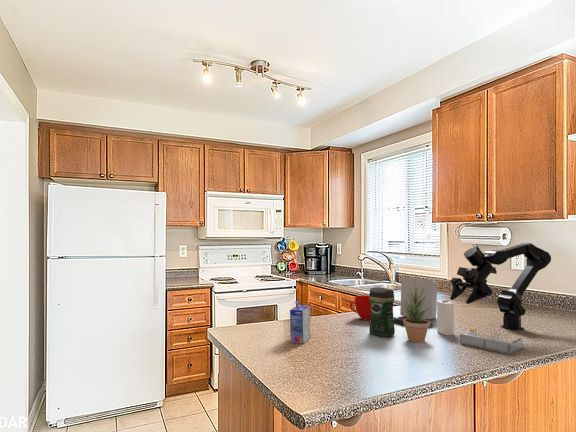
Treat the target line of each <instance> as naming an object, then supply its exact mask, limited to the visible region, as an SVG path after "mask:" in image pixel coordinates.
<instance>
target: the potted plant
mask: <svg viewBox="0 0 576 432" xmlns="http://www.w3.org/2000/svg"><path fill="white" fill-rule="evenodd" d="M414 277H415V281H414V286H415V297H414V294H413V292H412V289H411V286H410V292H411V297H410V295H409V293H408V297H409V300H410V303H411V305H409V304H408V303H407V302H406V301H405V303H406V304H407V306H408V307H409V309H410V310H409V309H408V308H407V307H406V305H405V304H404V305H405V308H406V310H407V311H406V310H405V312H406V313H407V314H408V315H409V318H408V317H407V316H406V317H407V318H408V319H404V320H403V323H404V325H405V326H404V327H405V332H406V335H407V339H408V341H410V342H412V343H424V342H425V341H426V337H427V335H428V334H427V333H428V331H429V327H430V322H431V321H430V322H429V320H428V319H423V318H424V317H423V318H421V317H422V316H423V315H424V313H425V312H426V311H427V310H428V309H429V308H428V309H426V310H425V311H424V310H422V311H420V309H421V308H422V306H423V304H424V302H425V297H426V295H425V297H424V298H423V299H422V300H420V299H421V296H422V294H423V292H424V289H425V287H426V284H427V280H426V283H425V285H424V287H423V289H422V291H420V293H419V295H418V287H417V289H416V277H417V276H416V275H414ZM420 318H421V319H420ZM430 328H431V327H430Z"/></svg>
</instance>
